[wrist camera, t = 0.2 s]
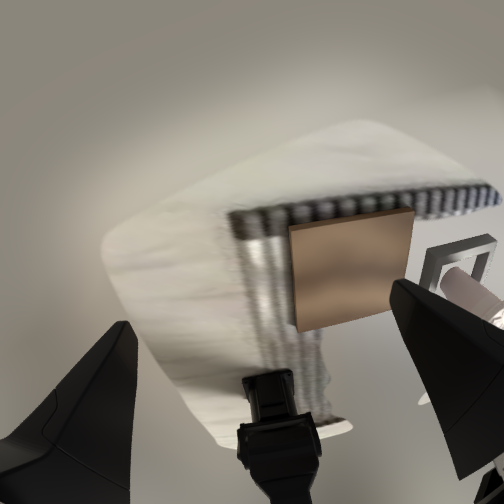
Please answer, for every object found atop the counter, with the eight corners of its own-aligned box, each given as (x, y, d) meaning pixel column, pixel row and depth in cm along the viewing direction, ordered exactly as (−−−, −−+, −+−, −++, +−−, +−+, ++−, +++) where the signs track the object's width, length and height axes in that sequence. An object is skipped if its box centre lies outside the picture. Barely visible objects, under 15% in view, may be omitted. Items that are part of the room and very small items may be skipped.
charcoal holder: (466, 301, 33) (473, 309, 31) (408, 322, 33) (415, 333, 31) (487, 233, 27) (497, 241, 25) (426, 248, 27) (436, 258, 25)
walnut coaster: (393, 302, 30) (397, 307, 29) (295, 326, 30) (297, 333, 29) (409, 206, 24) (414, 211, 23) (288, 226, 24) (290, 231, 23)
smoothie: (463, 248, 28) (536, 322, 16) (469, 277, 30) (529, 346, 18) (427, 280, 29) (493, 366, 17) (437, 306, 32) (491, 383, 20)
